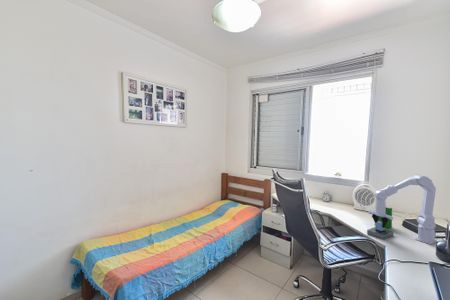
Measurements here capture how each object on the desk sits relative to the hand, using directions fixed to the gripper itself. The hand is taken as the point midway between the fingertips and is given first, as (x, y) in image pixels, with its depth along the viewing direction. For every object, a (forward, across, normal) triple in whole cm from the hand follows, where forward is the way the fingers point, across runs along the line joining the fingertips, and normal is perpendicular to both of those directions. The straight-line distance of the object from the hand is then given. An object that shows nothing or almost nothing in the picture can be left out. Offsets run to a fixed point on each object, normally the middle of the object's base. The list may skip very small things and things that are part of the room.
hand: (380, 226), depth 142 cm
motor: (+6, -7, +20) cm, 22 cm away
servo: (+2, 0, 0) cm, 2 cm away
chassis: (+6, 0, 0) cm, 6 cm away
